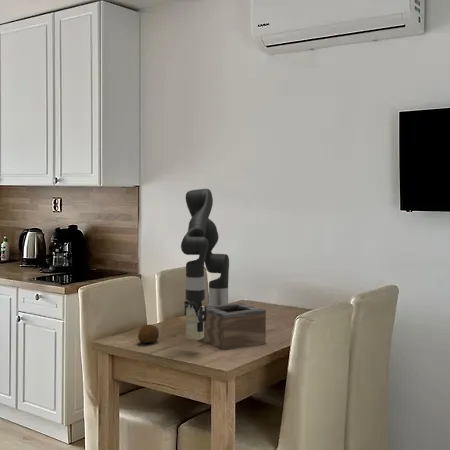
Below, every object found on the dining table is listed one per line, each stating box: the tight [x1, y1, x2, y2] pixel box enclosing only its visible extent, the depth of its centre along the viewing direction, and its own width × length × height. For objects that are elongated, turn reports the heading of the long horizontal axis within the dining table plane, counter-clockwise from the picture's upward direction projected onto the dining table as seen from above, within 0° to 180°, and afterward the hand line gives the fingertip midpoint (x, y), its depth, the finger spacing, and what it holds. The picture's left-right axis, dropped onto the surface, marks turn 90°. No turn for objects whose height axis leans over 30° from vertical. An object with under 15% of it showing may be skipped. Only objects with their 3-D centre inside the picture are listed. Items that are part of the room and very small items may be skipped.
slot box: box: [199, 302, 267, 351], centre depth 262 cm, size 20×20×14 cm
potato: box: [137, 324, 160, 344], centre depth 260 cm, size 8×12×8 cm, turn 170°
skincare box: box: [185, 307, 204, 341], centre depth 244 cm, size 6×4×12 cm
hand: (195, 329), depth 244 cm, fingers closed on skincare box, 7 cm apart
